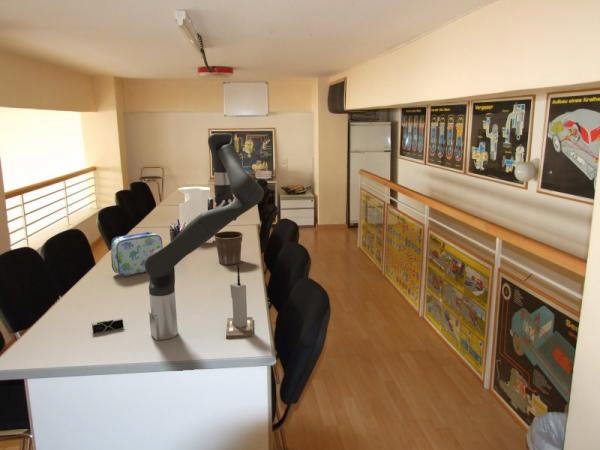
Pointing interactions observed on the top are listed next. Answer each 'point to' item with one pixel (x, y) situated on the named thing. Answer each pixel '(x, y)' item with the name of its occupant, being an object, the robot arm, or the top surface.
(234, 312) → the vintage mobile phone
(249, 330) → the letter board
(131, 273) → the lunch box
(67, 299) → the top surface
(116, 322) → the graphics card
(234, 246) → the plant pot
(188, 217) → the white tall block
